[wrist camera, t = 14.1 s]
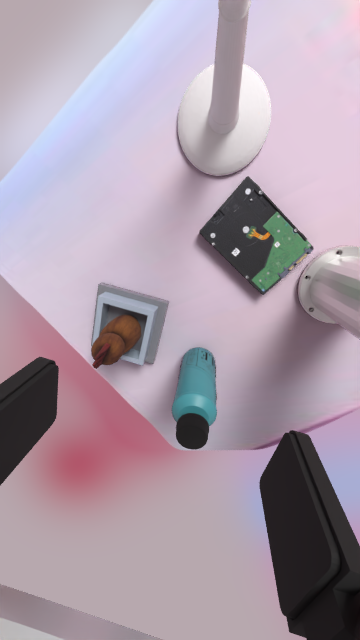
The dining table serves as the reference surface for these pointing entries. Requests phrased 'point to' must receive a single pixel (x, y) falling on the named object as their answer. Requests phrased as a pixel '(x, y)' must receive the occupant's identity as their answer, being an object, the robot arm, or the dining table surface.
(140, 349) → the figurine dock
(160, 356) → the dining table surface
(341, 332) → the dining table surface
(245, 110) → the candlestick
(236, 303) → the dining table surface
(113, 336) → the wooden figurine
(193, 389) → the beverage bottle
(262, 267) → the disk drive
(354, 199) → the dining table surface
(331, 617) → the robot arm
